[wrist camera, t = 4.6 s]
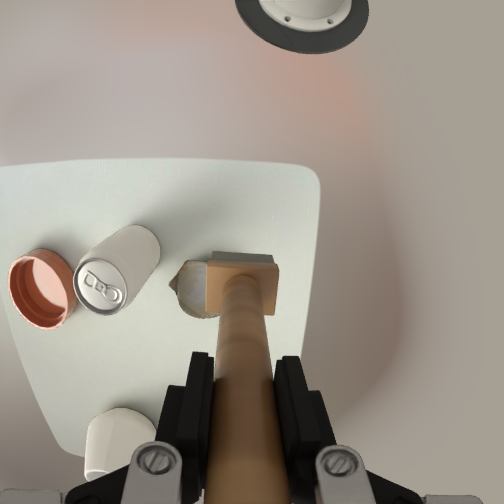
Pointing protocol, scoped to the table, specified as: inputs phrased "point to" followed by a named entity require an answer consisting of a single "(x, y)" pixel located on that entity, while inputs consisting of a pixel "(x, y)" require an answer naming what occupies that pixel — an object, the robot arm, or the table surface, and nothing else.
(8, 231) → the table surface
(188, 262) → the seashell
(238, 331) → the wooden handled stamp
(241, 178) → the table surface
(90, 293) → the can
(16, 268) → the bowl
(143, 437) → the white vase
